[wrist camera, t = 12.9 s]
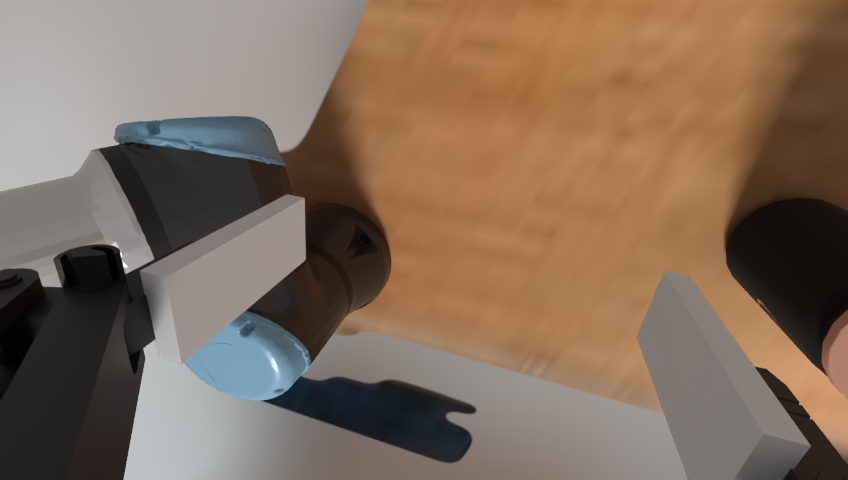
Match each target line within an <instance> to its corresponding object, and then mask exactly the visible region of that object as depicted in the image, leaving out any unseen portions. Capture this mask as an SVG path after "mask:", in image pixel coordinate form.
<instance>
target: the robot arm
mask: <svg viewBox="0 0 848 480" xmlns="http://www.w3.org/2000/svg"><path fill="white" fill-rule="evenodd" d="M114 139H115V141H116V142H119V143H120V144H119V145H116V146H111V147H106V148H100V149H95V150H92V151H91V152H90V154H89V156H88V157H87V159H86V160H85V162H84V164H83V165H82V167H81V168H80V170H79V171H78V172H76V173H75V174H74V175H73V176H71V177H66V178H61V179H57V180H52V181H47V182H43V183H39V184H34V185H29V186H25V187H20V188H15V189H11V190H6V191H2V192H0V480H123V478H124V472H125V467H126V461H127V456H128V450H129V445H130V439H131V434H132V428H133V423H134V417H135V411H136V406H137V401H138V395H139V390H140V384H141V379H142V373H143V368H144V362H145V355H144V351H143V348H144V347H145V346H146V345H148V344H149V343H151V342H152V341H153V340H155V344H156V348H157V353H158V356H159V357H160V358H163V359H167V360H170V361H173V362H177V363H180V364H183V363H185V364H186V365H187V367H188V368H189V369H190V370H191V371H192V372H193V373H194V374H195V375H196V376H198V377H199V378H200V379H201V380H203V381H204V382H205V383H207V384H208V385H210V386H212V387H214V388H216V389H217V390H219V391H221V392H223V393H225V394H228V395H231V396H233V397H237V398H241V399H246V400H267V399H271V398H274V397H277V396H279V395H281V394H283V393H284V392H285V391H287V390H288V389H289V388H290V387H291V386H292V385H293V383H294V382H295V381H296V380H297V379H298V378H299V377H300V376H301V375H302V374H304V373H305V372H306V370H308V368H309V366H310V365H311V363H312V362H313V360H314V359H315V358H316V356H317V355H318V354H319V352H320V351H321V349H322V348H323V347H324V345H325V344H326V343H327V341H328V340H329V338H330V337H331V336H332V334H333V333H334V332H335V330H336V329H337V327H338V326H339V325H340V323H341V322H342V321H343V319H344V318H345V317H346V316H347V315H348V314H350V313H351V312H353V311H355V310H358V309H360V308H362V307H364V306H366V305H368V304H369V303H371V302H372V301H373V300H374V299H375V298H376V297H377V296H378V295H379V293H380V292H381V291H382V289H383V288H384V286H385V285H386V283H387V281H388V278H389V275H390V269H391V259H390V253H389V249H388V246H387V244H386V241H385V239H384V237H383V236H382V234H381V233H380V231H379V230H378V229H377V227H376V226H375V225H374V224H373V223H372V222H371V221H370V220H369V219H368V218H366V217H365V216H364V215H362V214H361V213H359V212H357V211H355V210H353V209H351V208H349V207H345V206H342V205H336V204H324V205H318V206H315V207H313V208H310V209H309V210H307V211H305V198H303V197H298V196H293V193H292V190H291V186H290V183H289V180H288V176H287V173H286V169H285V167H286V163H285V162H284V161H283V160H282V158H281V155H280V153H279V150H278V147H277V144H276V141H275V139H274V136H273V133H272V131H271V129H270V128H269V127H268V126H267V125H266V124H265V123H264V122H263V121H261V120H259V119H256V118H253V117H241V116H238V117H237V116H230V117H229V116H228V117H198V118H180V119H168V120H167V119H166V120H162V121H157V120H156V121H147V122H142V121H141V122H131V123H124V124H121V125H118V126H117V128H116V129H115V136H114ZM637 339H638V342H639V345H640V348H641V350H642V353H643V356H644V359H645V361H646V364H647V367H648V370H649V372H650V375H651V378H652V381H653V384H654V386H655V389H656V392H657V395H658V397H659V400H660V403H661V406H662V408H663V411H664V414H665V417H666V419H667V422H668V425H669V428H670V431H671V433H672V436H673V439H674V442H675V444H676V447H677V450H678V453H679V455H680V458H681V461H682V464H683V467H684V469H685V472H686V475H687V478H688V480H848V465H847V463H846V462H845V461H844V460H843V458H842V457H841V456H840V454H839V453H838V452H837V450H836V449H835V448H834V447H833V445H832V444H831V443H830V441H829V440H828V439H827V438H826V436H825V435H824V434H823V432H822V431H821V430H820V428H819V427H818V426H817V425H816V423H815V422H814V421H813V420H811V419H810V415H809V414H808V413H807V412H806V410H805V409H804V408H803V406H801V405H799V401H798V400H797V399H796V397H795V396H794V395H793V393H792V392H791V391H790V390H789V388H788V387H787V386H786V385H785V384H784V383H783V382H781V381H780V380H779V379H778V378H777V377H775V376H774V375H773V374H772V373H770V372H769V371H768V370H767V369H763V368H759V367H755V366H754V365H753V364H752V363H751V361H750V360H749V358H748V357H747V356H746V354H745V353H744V351H743V350H742V349H741V347H740V346H739V344H738V343H737V342H736V340H735V339H734V337H733V336H732V335H731V333H730V332H729V330H728V329H727V328H726V326H725V325H724V323H723V322H722V321H721V319H720V318H719V316H718V315H717V314H716V312H715V311H714V309H713V308H712V307H711V305H710V304H709V302H708V301H707V300H706V298H705V297H704V295H703V294H702V293H701V291H700V290H699V288H698V287H697V286H696V284H695V283H694V281H693V280H692V279H691V277H690V276H688V275H683V274H678V273H673V272H668V271H664V273H663V275H662V278H661V280H660V283H659V285H658V287H657V290H656V292H655V295H654V297H653V299H652V302H651V304H650V307H649V309H648V311H647V314H646V316H645V319H644V321H643V323H642V326H641V328H640V331H639V333H638V335H637Z"/></svg>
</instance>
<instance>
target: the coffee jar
mask: <svg viewBox="0 0 848 480" xmlns="http://www.w3.org/2000/svg"><path fill="white" fill-rule="evenodd" d="M726 261H727V266H728V268H729V270H730V272H731V274H732V276H733V277H734V278H735V279H736V280H737V282H738V283H739V284H740V285H741V286H742V287H743V288H744V289H745V290H746V291H747V292H748V294H749V295H750V296H751V297H752V298H753V299H754V300H755V301H756V302H757V303H758V304H759V306H760V307H761V308H762V309H763V310H764V311H765V312H766V313H767V314H768V315H769V316H770V318H771V319H772V320H773V321H774V322H775V323H776V324H777V325H778V326H779V327H780V328H781V330H782V331H783V332H784V333H785V334H786V335H787V336H788V337H789V338H790V339H791V340H792V342H793V343H794V344H795V345H796V346H797V347H798V348H799V349H800V350H801V351H802V352H803V354H804V355H805V356H806V357H807V358H808V359H809V360H810V361H811V362H812V363H813V364H814V365H815V366H816V367H817V368H819V369H820V370H821V371H822V372H823V373H824V374H825V375H826V376H828V378H829V380H830V381H831V383H832V384H833V386H834V387H835V388H836V389H837V390H838V391H840V392H841V393H842V394H843V395H844V396H845V397H846V398H847V399H848V211H846V210H844V209H842V208H840V207H838V206H835V205H833V204H830V203H828V202H825V201H823V200H818V199H807V198H796V199H789V200H783V201H777V202H774V203H772V204H769V205H767V206H764V207H762V208H759V209H757V210H756V211H754V212H753V213H752V214H750V215H749V216H748V217H746V218H745V219H743V220H742V221H741V222H740V224H739V225H738V226H737V227H736V229H735V230H734V231H733V232H732V234H731V236H730V239H729V242H728V245H727V247H726Z"/></svg>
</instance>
